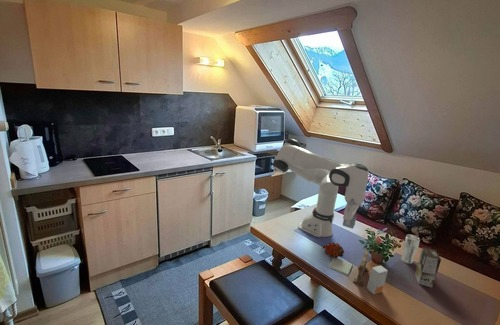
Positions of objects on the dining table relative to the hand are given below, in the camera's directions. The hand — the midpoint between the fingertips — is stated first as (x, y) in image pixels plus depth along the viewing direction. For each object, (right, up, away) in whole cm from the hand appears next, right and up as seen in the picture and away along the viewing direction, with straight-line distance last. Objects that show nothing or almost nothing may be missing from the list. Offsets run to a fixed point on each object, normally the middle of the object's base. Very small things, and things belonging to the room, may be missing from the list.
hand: (349, 221), depth 135 cm
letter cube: (0, -2, +1) cm, 2 cm away
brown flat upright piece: (+6, -28, +1) cm, 29 cm away
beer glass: (+39, -26, +17) cm, 50 cm away
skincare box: (+9, -31, -8) cm, 33 cm away
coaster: (-2, -26, +7) cm, 27 cm away
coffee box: (+38, -31, +2) cm, 49 cm away
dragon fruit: (-4, -23, +14) cm, 27 cm away
